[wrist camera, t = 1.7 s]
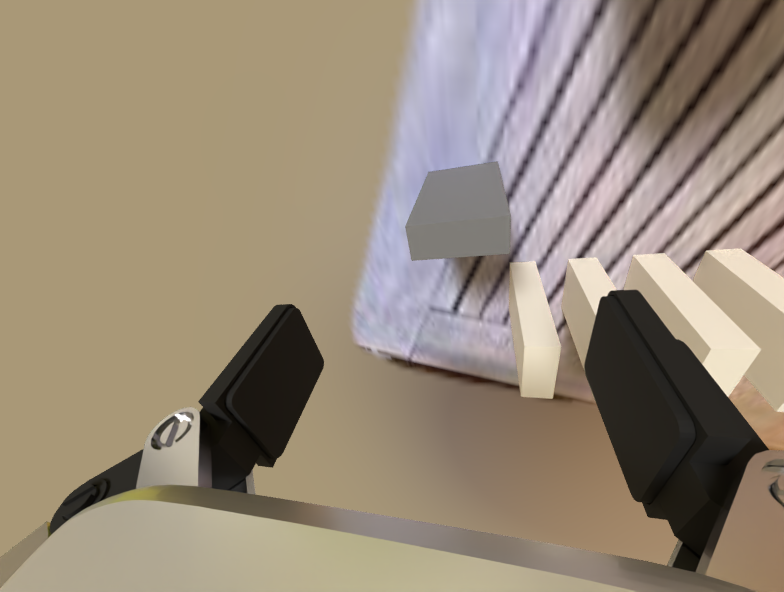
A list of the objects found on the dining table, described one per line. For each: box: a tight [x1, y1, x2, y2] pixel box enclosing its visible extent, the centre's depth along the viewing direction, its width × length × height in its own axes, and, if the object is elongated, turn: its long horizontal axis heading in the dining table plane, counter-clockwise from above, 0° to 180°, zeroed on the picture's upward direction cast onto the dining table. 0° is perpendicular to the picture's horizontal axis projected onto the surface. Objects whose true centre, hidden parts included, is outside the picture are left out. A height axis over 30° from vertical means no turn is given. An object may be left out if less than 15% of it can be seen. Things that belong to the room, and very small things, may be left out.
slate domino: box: [405, 161, 511, 261], centre depth 19 cm, size 2×5×10 cm, turn 102°
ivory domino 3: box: [623, 253, 761, 397], centre depth 21 cm, size 2×5×10 cm, turn 12°
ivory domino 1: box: [509, 261, 561, 399], centre depth 23 cm, size 2×5×10 cm, turn 12°
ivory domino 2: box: [561, 258, 617, 399], centre depth 22 cm, size 2×5×10 cm, turn 12°
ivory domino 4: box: [693, 249, 784, 412], centre depth 19 cm, size 2×5×10 cm, turn 12°
